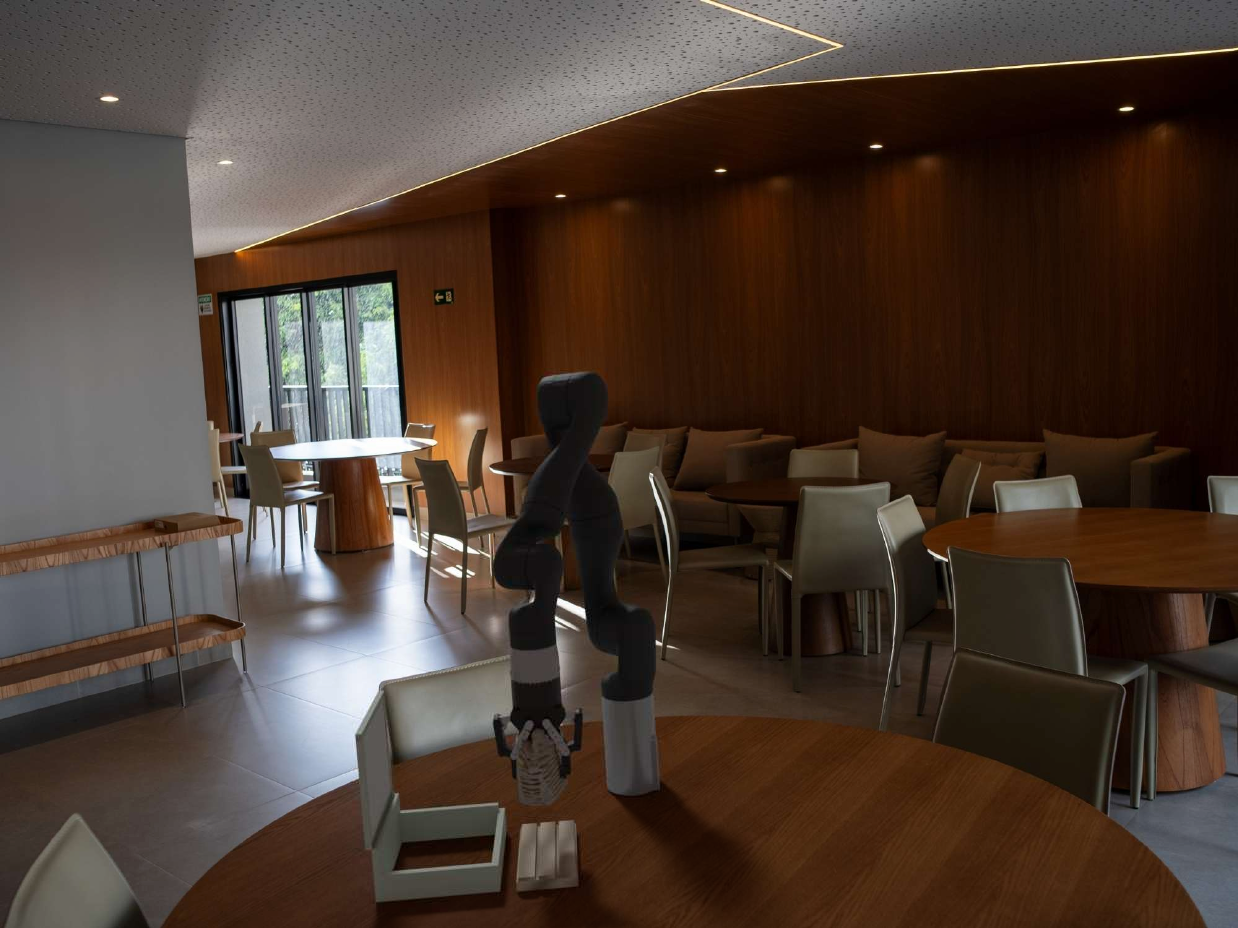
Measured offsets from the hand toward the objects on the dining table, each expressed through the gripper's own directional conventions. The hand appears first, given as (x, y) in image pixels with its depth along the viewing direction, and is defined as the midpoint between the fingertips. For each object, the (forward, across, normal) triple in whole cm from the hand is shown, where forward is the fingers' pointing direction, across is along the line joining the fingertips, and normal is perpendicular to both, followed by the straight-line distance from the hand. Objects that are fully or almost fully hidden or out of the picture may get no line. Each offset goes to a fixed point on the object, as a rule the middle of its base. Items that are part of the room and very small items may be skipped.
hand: (542, 778), depth 154 cm
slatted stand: (+13, 0, 0) cm, 13 cm away
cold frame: (+13, +16, -1) cm, 21 cm away
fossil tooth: (+3, 0, 0) cm, 3 cm away
